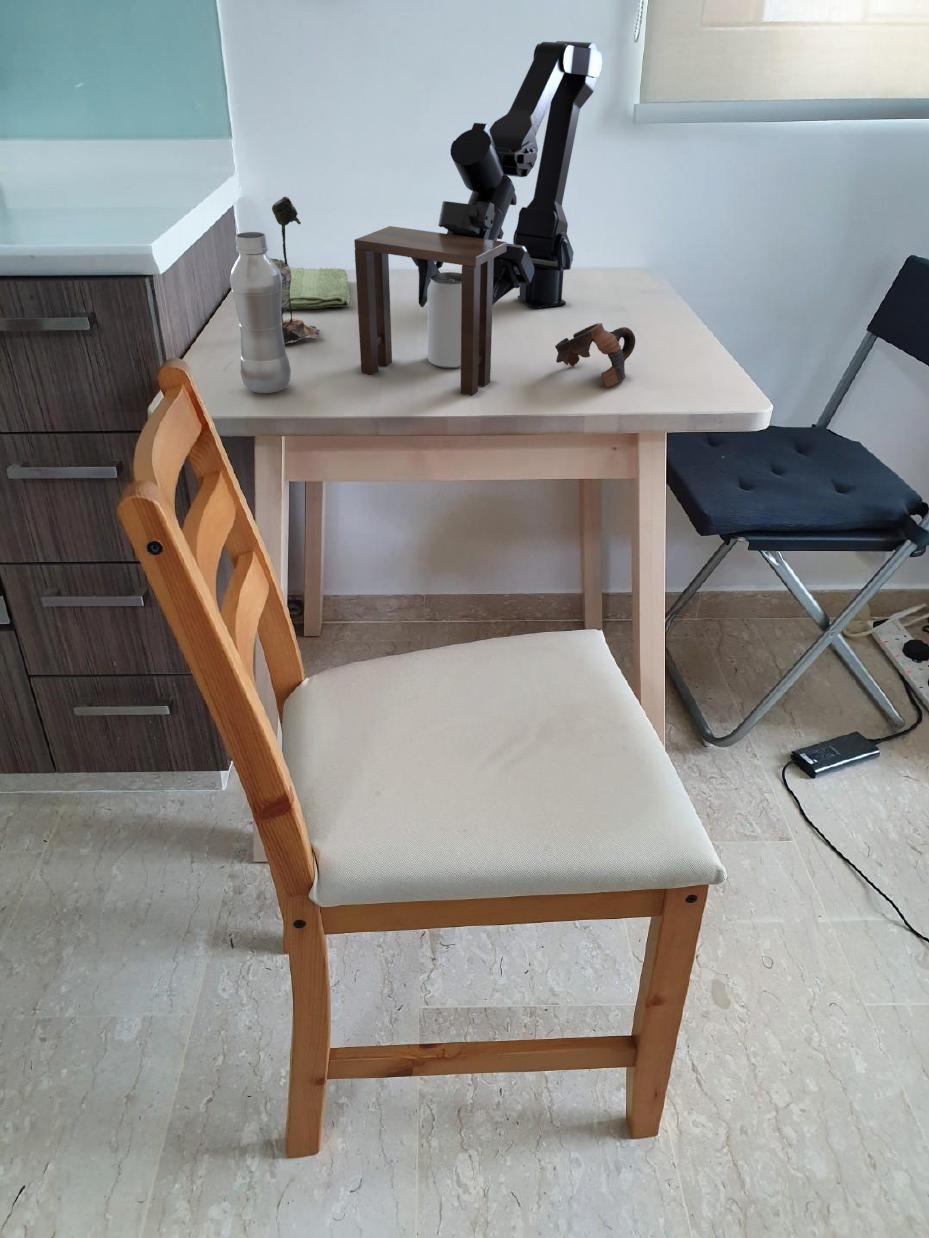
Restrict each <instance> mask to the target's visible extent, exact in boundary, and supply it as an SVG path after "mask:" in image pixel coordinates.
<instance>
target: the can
mask: <svg viewBox="0 0 929 1238" xmlns="http://www.w3.org/2000/svg"><path fill="white" fill-rule="evenodd" d="M430 279H431V281H430V284H429V286H428V290H427V302H426V304H427V306H426V307H427V308H426V309H427V310H426V311H427V315H426V316H427V318H426V319H427V360H428V362H430V364H431V365H432V366H434V367H437V368H442V369H459V368H460V369H461V294H462V272H456V271H455V272H453V271H446V272H445V271H443V272H440V273H437V274H434V275H432V276H431V277H430Z"/></svg>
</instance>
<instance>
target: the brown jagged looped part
mask: <svg viewBox="0 0 929 1238" xmlns="http://www.w3.org/2000/svg"><path fill="white" fill-rule="evenodd" d="M572 336H573V338H571V339H569V338H568V337H565V338H563V339H562V340H560V341H559V342H558V343H557V344H555V346H554V348H555V349H556V351H557V356H556V359H555V362H556V363H558V364H559V363H562V362H563V364H564V365H565V366H568V365H569V366H571V367H575V366H576V365H577V364H578V363H579V361H580V357H582V358H590V357H591V354H590V349H591V345H592V343H594V344H595V346H596V347H597V350H598V351H599V352H600V353H601V354H603V355H607V357H608V359H609V361H610V362H611V366H610V368H608V369H607V370H604V371H602V373H601V377H602V379H603V381H604V387H605V388H606V389H608V388H610V387H613V386H614V385H616V384H617V383H620V382H621V381H624V379H625V378H626V369H625V362H626V360H627V359H628V358H629V357H630V356H631V355H632V354H633V352H634V349H635V346H636V336H635V333H634V331H633V330H632V329H630V328H629V327H626V326H624V327H623V326H622V327H619V328H616V329H614V330H613V331H608V330H605V327H604V324H603V323H602V322H598V323H597V322H596V323H594V324H592V325H590V326H589V325H588V327H585V328H583V329H581V330H579V331H577V332H575V333H573V335H572ZM621 339H623V346H621V344H620V340H621Z"/></svg>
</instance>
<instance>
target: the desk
mask: <svg viewBox="0 0 929 1238" xmlns="http://www.w3.org/2000/svg"><path fill="white" fill-rule="evenodd" d="M507 243H508V242H506V241H501V240H497V241H495V240H488V239H480V238H473V237H466V236H459V235H451V234H447V233H445V232H444V233H443V232H435V231H428V230H421V229H415V228H406V227H400V226H393V225H389V226H387V227H384V228H381V229H379V230H376V231H373V232H371V233H368V234H366V235H365V234H364V235H362V236H360V237H358V238H355V239H354V261H355V262H354V263H355V279H356V281H355V283H356V299H357V314H358V315H357V316H358V317H357V318H358V334H359V335H358V336H359V337H358V338H359V354H360V355H359V356H360V370H361V371H360V372H361V374H366V375H371V376H372V375H375V374H376V373H378V372H379V366H382V367H387V366H389V365H391V364H393V349H392V348H393V347H392V345H393V344H392V319H391V317H392V316H391V290H390V289H391V287H390V263H389V261H390V259H389V255H393V256H398V257H405V258H411V259H412V258H418V259H425V260H431V261H438V262H444V263H445V264H452V265H459V266H461V273H462V294H461V367H460V394H463V395H468V396H471V397H472V396H474V395H475V394H477V393H478V392H479V386H480V387H487V385H489V384H490V383H491V373H492V372H491V371H492V370H491V368H492V367H491V366H492V338H493V337H492V335H493V305H492V302H493V267H494V257H496V256H498V255H500V254H502V253H504V252H506V249H507Z"/></svg>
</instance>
